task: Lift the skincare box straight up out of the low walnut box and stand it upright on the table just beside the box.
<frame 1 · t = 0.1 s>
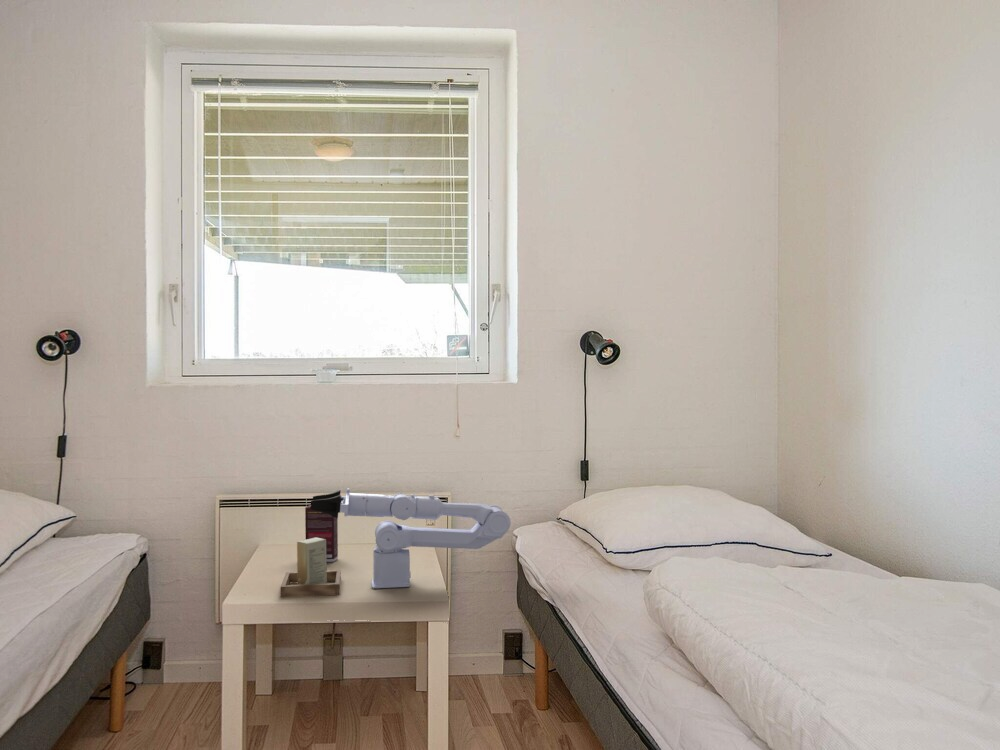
hand: (311, 502, 195), 22 cm above the table, tool horizontal, fingers open, 7 cm apart
skincare box: (311, 588, 194), resting in walnut box
supplement box: (321, 560, 224), on the table
walnut box: (311, 588, 194), on the table
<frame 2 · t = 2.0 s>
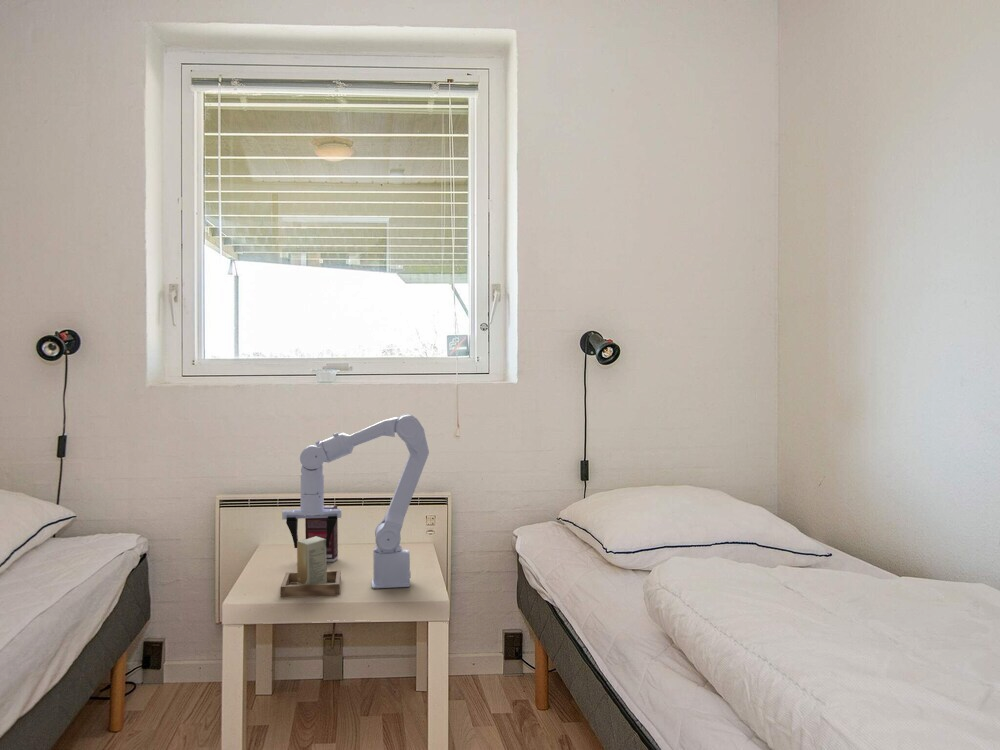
hand: (312, 546, 195), 10 cm above the table, tool pointing down, fingers closed on skincare box, 7 cm apart
skincare box: (311, 587, 194), resting in walnut box, touching gripper
everything else where it was.
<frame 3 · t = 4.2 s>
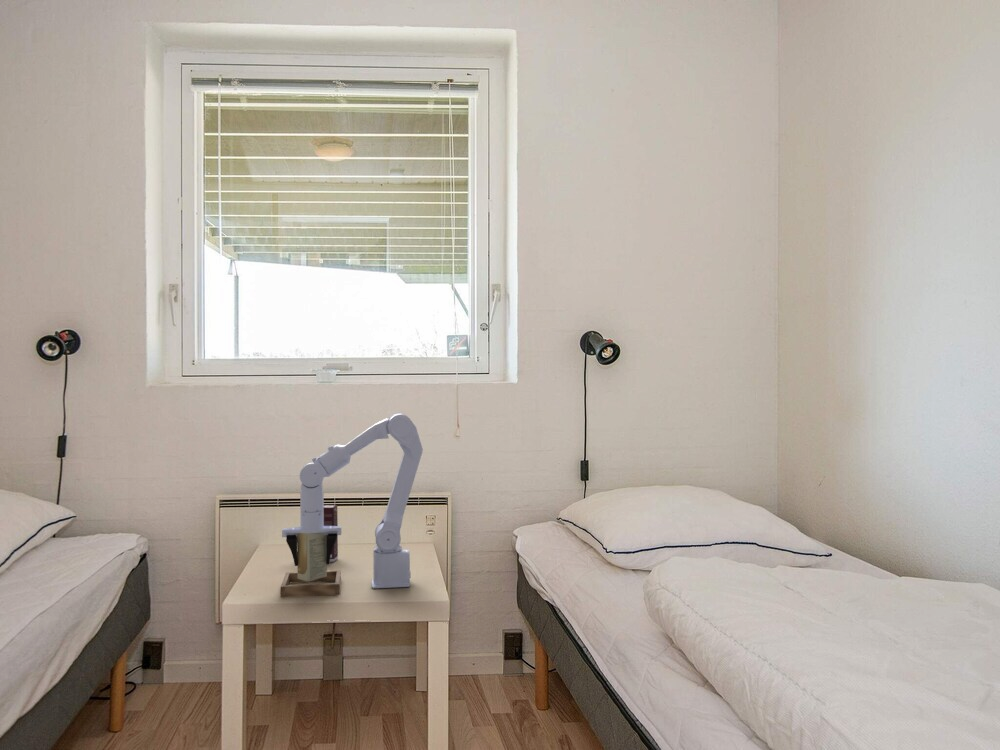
hand: (312, 564, 194), 6 cm above the table, tool pointing down, fingers closed on skincare box, 7 cm apart
skincare box: (311, 578, 194), point 2 cm above the table, touching gripper
everything else where it was.
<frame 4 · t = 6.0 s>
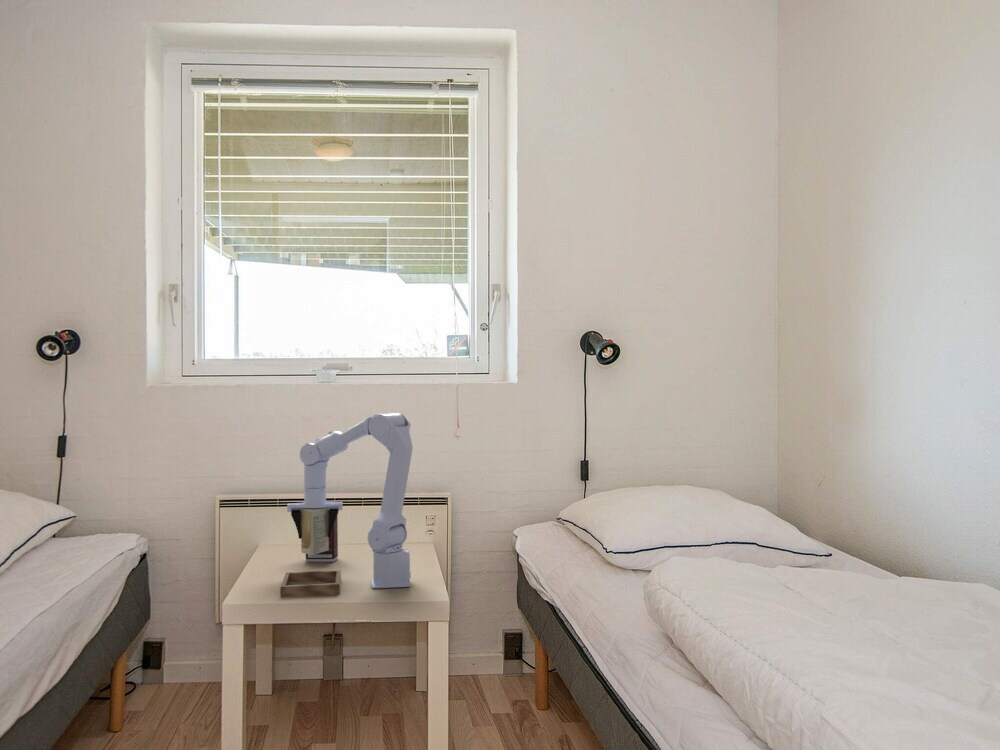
hand: (315, 537, 208), 10 cm above the table, tool pointing down, fingers closed on skincare box, 7 cm apart
skincare box: (314, 552, 208), point 6 cm above the table, touching gripper
everything else where it was.
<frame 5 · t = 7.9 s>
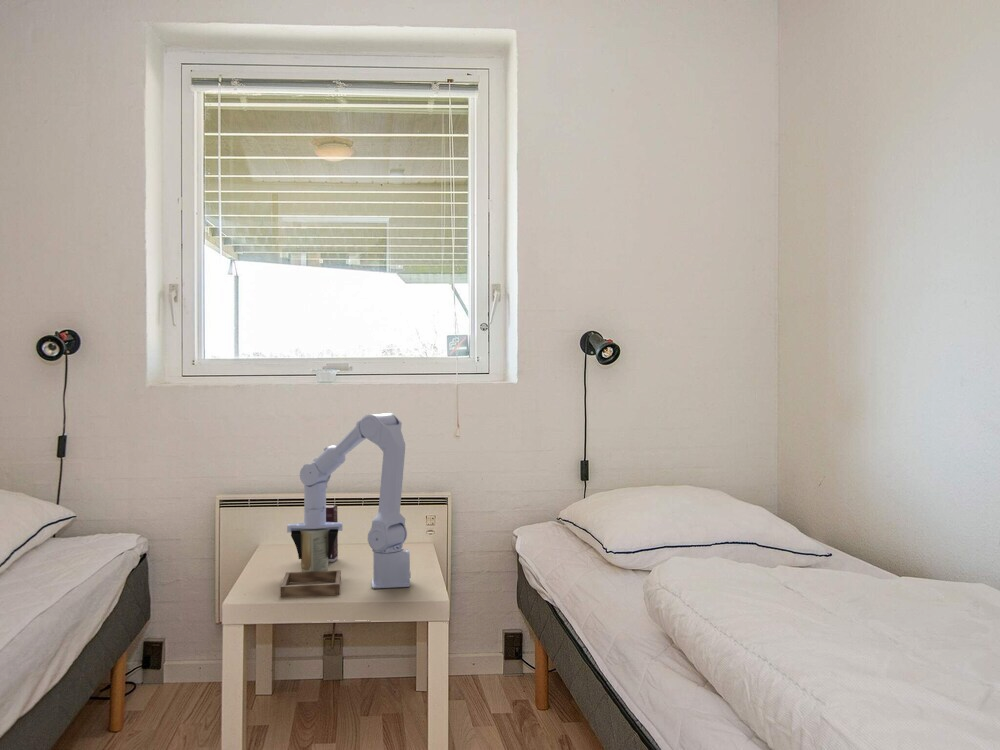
hand: (315, 557, 208), 4 cm above the table, tool pointing down, fingers closed on skincare box, 7 cm apart
skincare box: (314, 574, 208), on the table, touching gripper
everything else where it was.
when the fingers open (5 cm above the table, at t = 9.1 s): skincare box stays where it is, on the table.
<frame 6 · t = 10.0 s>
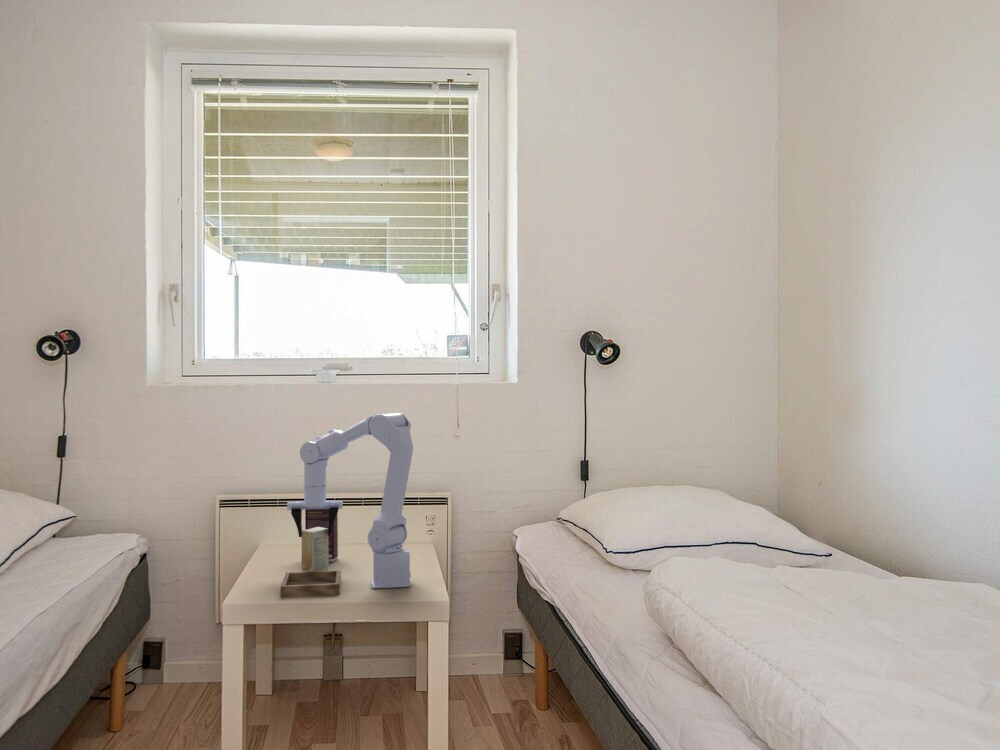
hand: (315, 535, 208), 10 cm above the table, tool pointing down, fingers open, 7 cm apart
skincare box: (314, 574, 208), on the table, touching gripper
everything else where it was.
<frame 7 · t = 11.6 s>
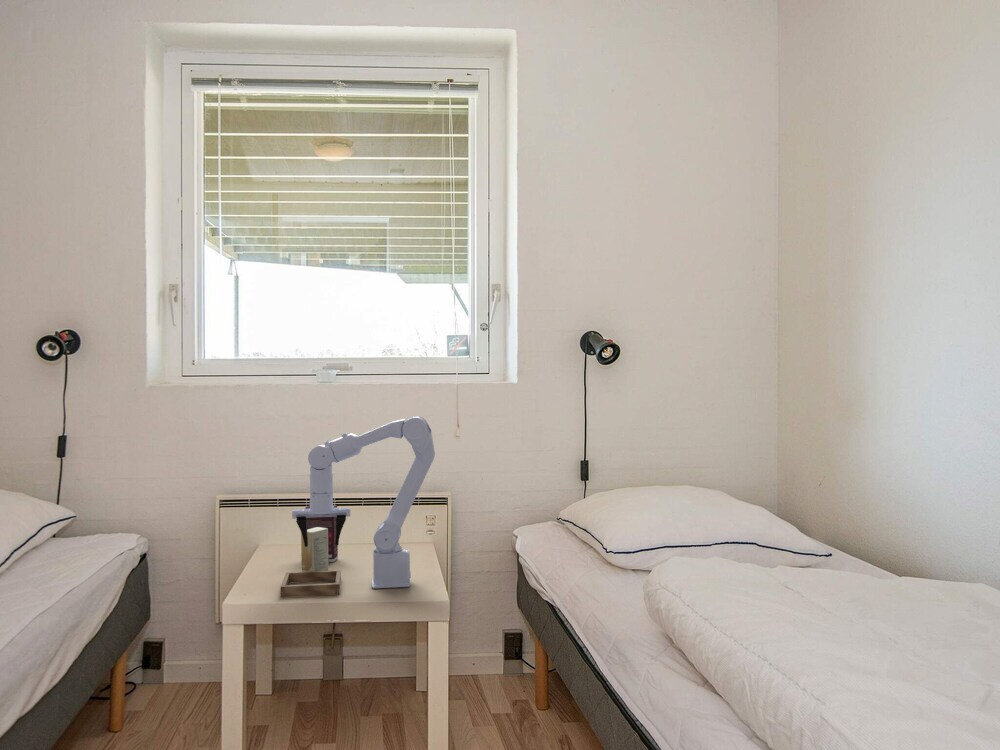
hand: (321, 545, 197), 10 cm above the table, tool pointing down, fingers open, 7 cm apart
skincare box: (314, 574, 208), on the table
everything else where it was.
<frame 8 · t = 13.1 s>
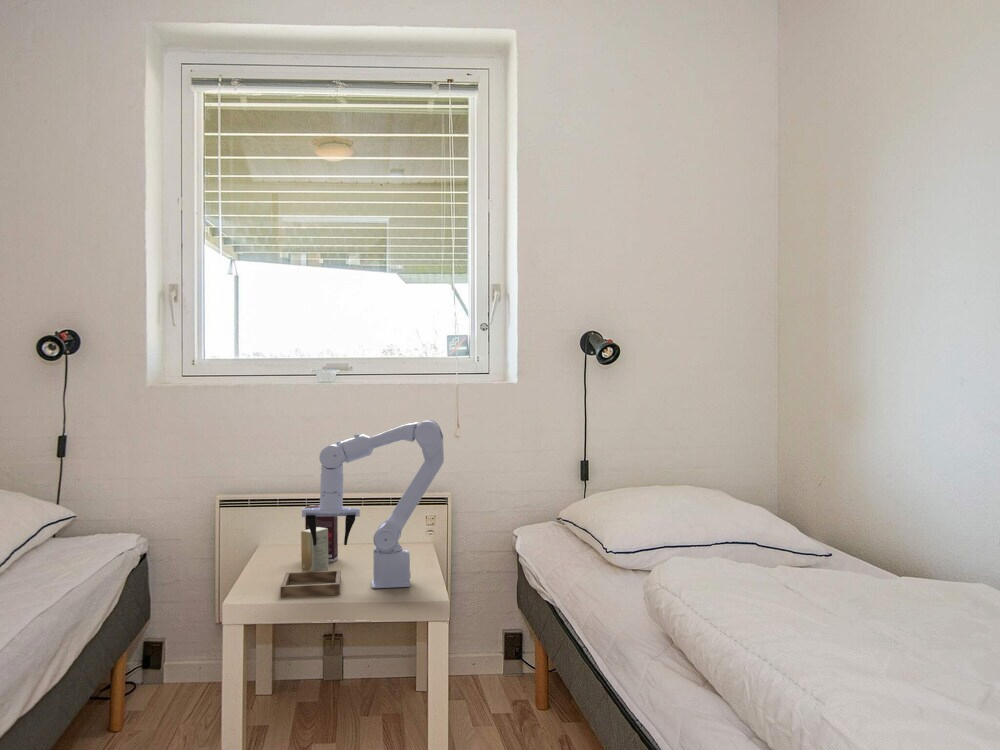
hand: (330, 544, 197), 10 cm above the table, tool pointing down, fingers open, 7 cm apart
nothing on the table moved.
at the end: skincare box inside the target area (0.1 cm from its centre), on the table; skincare box tilted 0°; skincare box touching table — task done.
